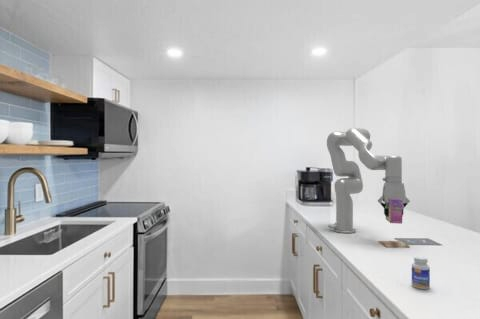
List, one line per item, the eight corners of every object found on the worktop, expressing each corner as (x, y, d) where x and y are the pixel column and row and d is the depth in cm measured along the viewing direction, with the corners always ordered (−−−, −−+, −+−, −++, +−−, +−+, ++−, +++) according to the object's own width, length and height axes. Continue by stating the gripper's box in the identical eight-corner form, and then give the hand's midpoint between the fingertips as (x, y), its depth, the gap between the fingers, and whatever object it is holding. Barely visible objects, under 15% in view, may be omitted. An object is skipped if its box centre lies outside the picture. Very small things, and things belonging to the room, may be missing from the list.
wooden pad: (386, 247, 166) (386, 246, 166) (378, 242, 177) (378, 240, 177) (409, 247, 166) (409, 246, 166) (400, 242, 177) (400, 241, 177)
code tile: (405, 244, 171) (405, 244, 171) (394, 238, 185) (394, 238, 185) (442, 245, 171) (442, 244, 171) (428, 238, 185) (428, 238, 185)
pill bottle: (412, 288, 114) (412, 259, 114) (410, 282, 119) (410, 254, 119) (431, 290, 112) (431, 260, 112) (428, 284, 117) (428, 256, 117)
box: (402, 223, 166) (402, 199, 166) (390, 223, 167) (390, 199, 167) (397, 220, 176) (397, 197, 176) (385, 219, 177) (385, 196, 177)
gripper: (378, 180, 168) (379, 217, 168) (414, 180, 167) (414, 217, 167) (373, 180, 176) (373, 215, 176) (407, 180, 175) (407, 215, 175)
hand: (393, 215), depth 171 cm, fingers closed on box, 6 cm apart
